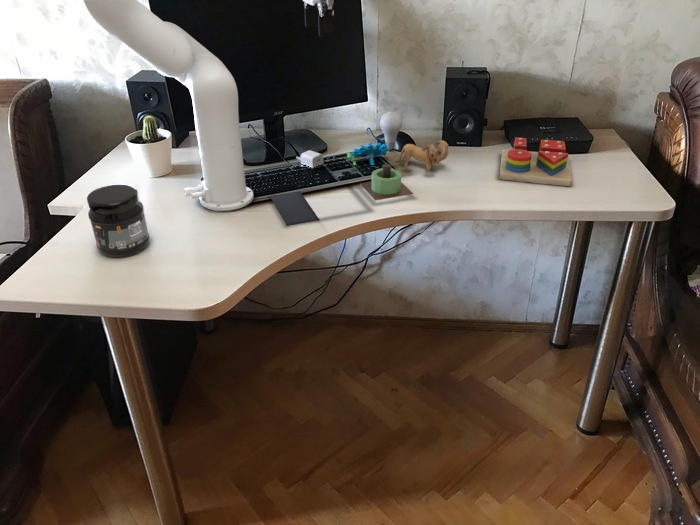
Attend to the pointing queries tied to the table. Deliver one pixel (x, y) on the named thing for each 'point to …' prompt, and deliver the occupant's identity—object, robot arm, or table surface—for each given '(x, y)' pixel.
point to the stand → (367, 186)
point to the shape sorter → (536, 163)
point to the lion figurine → (425, 153)
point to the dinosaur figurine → (367, 153)
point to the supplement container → (118, 220)
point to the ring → (386, 182)
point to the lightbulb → (390, 127)
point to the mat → (294, 208)
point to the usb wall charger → (311, 159)
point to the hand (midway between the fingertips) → (319, 31)
